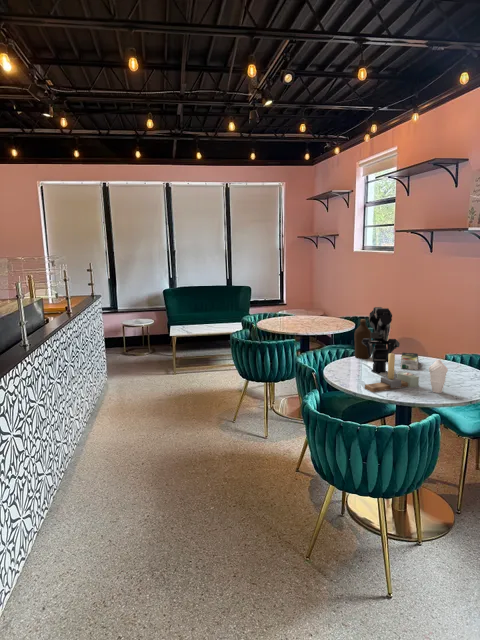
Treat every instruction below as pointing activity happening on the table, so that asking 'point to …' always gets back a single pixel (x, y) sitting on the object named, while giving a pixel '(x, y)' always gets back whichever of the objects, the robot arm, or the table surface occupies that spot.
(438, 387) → the soft serve ice cream cone
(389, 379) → the grey block with handle
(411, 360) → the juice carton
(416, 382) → the gauge cabinet
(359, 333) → the olive oil
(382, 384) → the rail
